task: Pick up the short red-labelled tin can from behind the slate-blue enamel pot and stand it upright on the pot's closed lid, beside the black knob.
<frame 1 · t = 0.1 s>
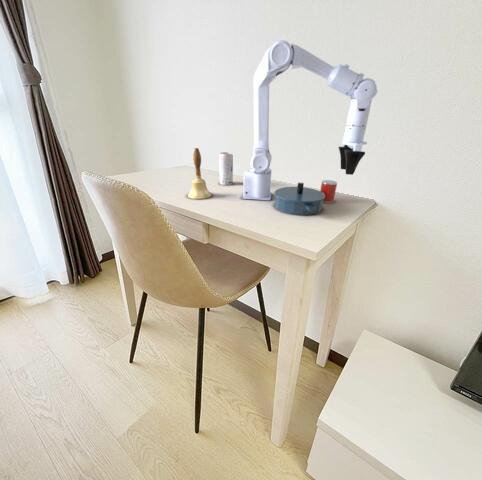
hand: (346, 171, 83), 10 cm above the table, tool pointing down, fingers open, 7 cm apart
energy drink: (226, 184, 107), on the table
hand bell: (199, 196, 91), on the table
tin can: (326, 200, 88), on the table
lid: (299, 194, 80), point 4 cm above the table, touching pot
pot: (297, 207, 82), on the table
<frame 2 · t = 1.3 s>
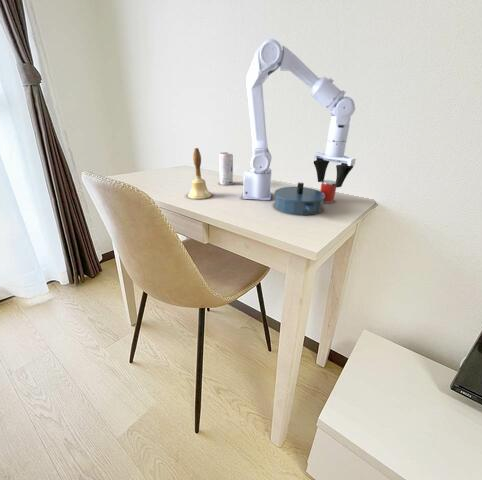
hand: (329, 184, 86), 6 cm above the table, tool pointing down, fingers open, 7 cm apart
nothing on the table moved.
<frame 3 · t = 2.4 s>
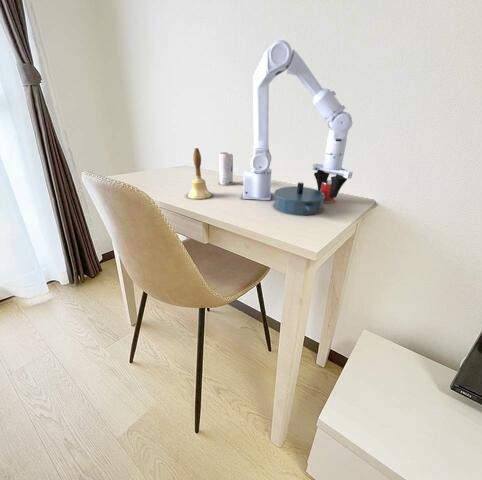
hand: (327, 195, 88), 2 cm above the table, tool pointing down, fingers closed on tin can, 5 cm apart
tin can: (326, 200, 89), on the table, touching gripper
everything else where it was.
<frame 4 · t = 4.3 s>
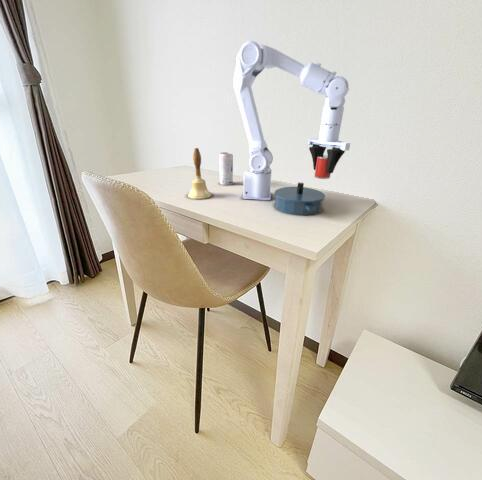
hand: (323, 171, 82), 10 cm above the table, tool pointing down, fingers closed on tin can, 5 cm apart
tin can: (322, 177, 83), point 8 cm above the table, touching gripper
everything else where it was.
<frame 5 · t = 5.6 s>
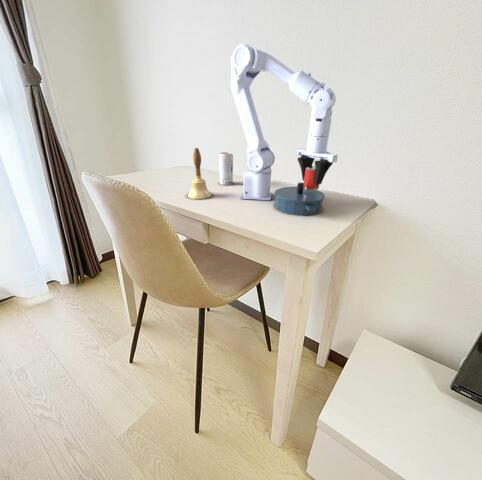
hand: (311, 182, 81), 7 cm above the table, tool pointing down, fingers closed on tin can, 5 cm apart
tin can: (310, 188, 82), point 6 cm above the table, touching gripper
everything else where it was.
when the fingers open (6 cm above the table, at t = 6.4 s): tin can stays where it is, resting on lid.
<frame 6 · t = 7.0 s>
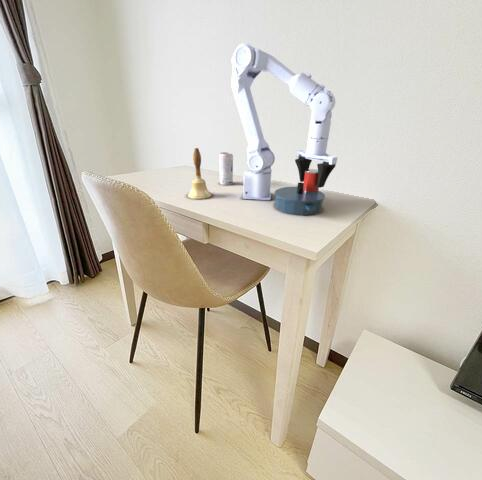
hand: (311, 184, 81), 7 cm above the table, tool pointing down, fingers open, 7 cm apart
tin can: (310, 191, 83), point 4 cm above the table, touching lid
lid: (299, 194, 80), point 4 cm above the table, touching pot, tin can
everything else where it was.
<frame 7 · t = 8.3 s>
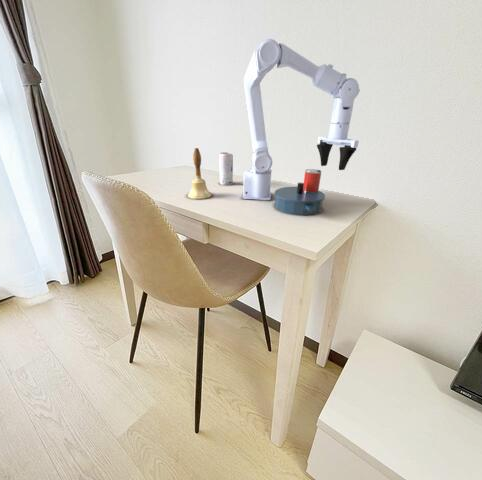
hand: (332, 167, 87), 10 cm above the table, tool pointing down, fingers open, 7 cm apart
nothing on the table moved.
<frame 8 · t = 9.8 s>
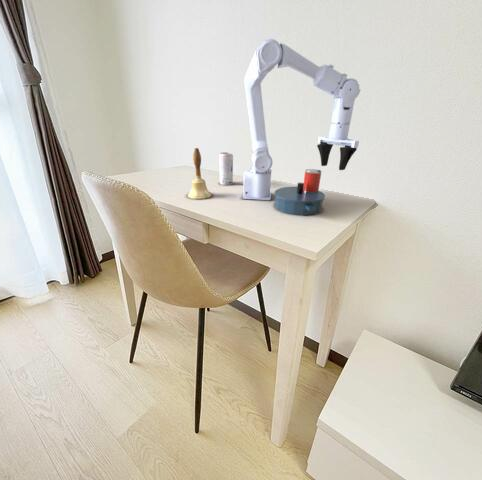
hand: (332, 167, 87), 10 cm above the table, tool pointing down, fingers open, 7 cm apart
nothing on the table moved.
at the end: tin can inside the target area on the pot (4.8 cm from its centre), point 4.5 cm above the pot's base; tin can tilted 0°; tin can touching lid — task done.
